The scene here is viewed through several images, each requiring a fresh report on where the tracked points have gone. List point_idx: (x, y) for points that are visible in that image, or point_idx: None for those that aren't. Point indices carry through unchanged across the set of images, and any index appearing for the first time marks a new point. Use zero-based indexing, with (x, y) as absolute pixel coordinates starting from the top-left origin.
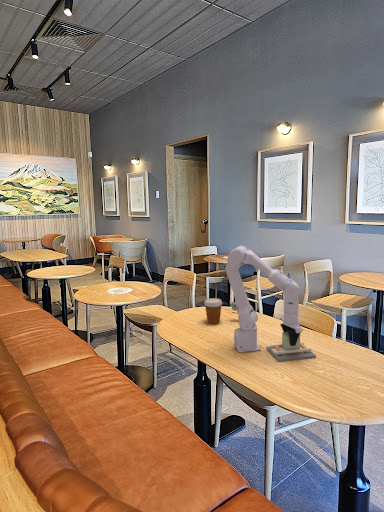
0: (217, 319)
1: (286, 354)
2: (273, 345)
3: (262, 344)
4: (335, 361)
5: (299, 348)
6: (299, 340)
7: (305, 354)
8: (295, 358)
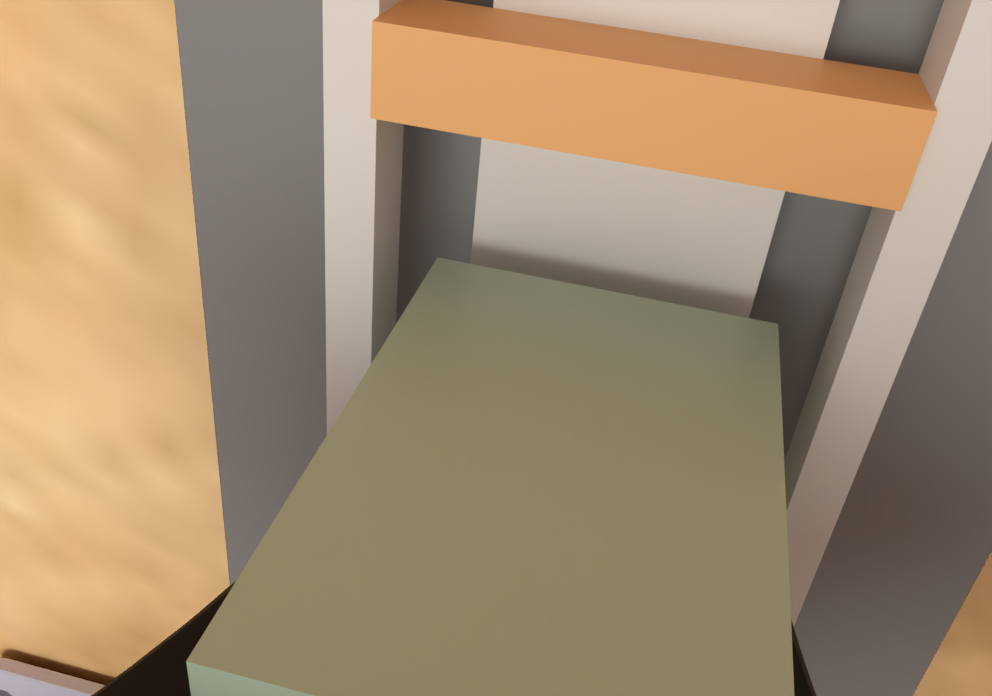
0: None
1: None
2: None
3: (62, 581)
4: None
5: (775, 352)
6: (774, 574)
7: None
8: (983, 539)
